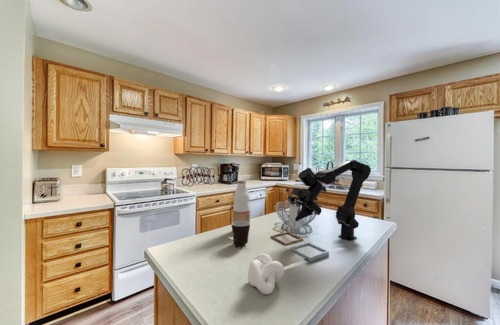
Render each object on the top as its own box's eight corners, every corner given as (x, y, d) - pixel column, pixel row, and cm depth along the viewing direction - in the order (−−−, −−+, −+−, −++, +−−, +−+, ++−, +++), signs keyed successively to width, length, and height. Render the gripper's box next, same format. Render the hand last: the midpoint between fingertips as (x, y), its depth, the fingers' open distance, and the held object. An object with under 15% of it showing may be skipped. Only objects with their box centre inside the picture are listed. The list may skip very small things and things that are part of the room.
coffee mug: (247, 249, 97) (247, 226, 97) (229, 247, 99) (229, 225, 99) (252, 239, 108) (252, 219, 108) (235, 238, 110) (235, 218, 110)
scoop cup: (293, 229, 102) (293, 203, 101) (302, 231, 98) (302, 204, 98) (287, 231, 98) (287, 205, 98) (296, 234, 95) (296, 206, 95)
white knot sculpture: (279, 274, 76) (279, 249, 76) (289, 296, 64) (289, 267, 64) (246, 277, 75) (247, 251, 75) (251, 299, 63) (251, 269, 63)
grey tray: (308, 246, 100) (308, 242, 100) (328, 255, 91) (328, 251, 91) (290, 252, 94) (290, 247, 94) (309, 262, 85) (310, 257, 85)
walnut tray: (287, 235, 114) (287, 231, 114) (303, 242, 104) (303, 238, 104) (270, 239, 108) (270, 235, 108) (285, 247, 98) (285, 243, 98)
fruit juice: (234, 235, 114) (234, 182, 113) (231, 229, 123) (231, 180, 123) (251, 233, 116) (251, 181, 115) (248, 228, 125) (248, 179, 125)
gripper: (290, 179, 108) (271, 203, 104) (316, 183, 91) (293, 212, 87) (303, 193, 111) (285, 217, 107) (330, 200, 94) (309, 229, 90)
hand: (292, 219), depth 98 cm, fingers closed on scoop cup, 5 cm apart
